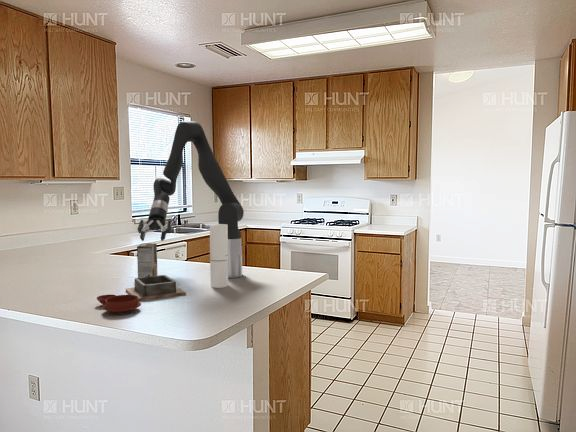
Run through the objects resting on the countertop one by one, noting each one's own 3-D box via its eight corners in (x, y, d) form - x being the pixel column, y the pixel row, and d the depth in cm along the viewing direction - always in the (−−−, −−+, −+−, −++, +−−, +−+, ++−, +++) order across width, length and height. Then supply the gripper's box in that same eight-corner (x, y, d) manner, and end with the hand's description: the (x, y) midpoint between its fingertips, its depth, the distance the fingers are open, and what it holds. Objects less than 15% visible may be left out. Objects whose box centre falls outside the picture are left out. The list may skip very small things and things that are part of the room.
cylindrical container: (231, 284, 178) (230, 224, 177) (223, 288, 172) (222, 225, 170) (215, 283, 181) (215, 223, 179) (207, 287, 174) (206, 225, 172)
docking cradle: (171, 285, 177) (171, 273, 177) (185, 294, 162) (185, 281, 161) (125, 290, 168) (125, 278, 167) (136, 301, 152) (135, 287, 152)
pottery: (113, 319, 132) (112, 305, 132) (85, 307, 146) (85, 294, 146) (148, 311, 141) (147, 298, 141) (118, 300, 155) (118, 288, 154)
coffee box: (142, 280, 187) (141, 243, 185) (158, 279, 187) (157, 243, 186) (137, 285, 178) (136, 246, 176) (153, 284, 178) (152, 246, 177)
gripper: (141, 206, 196) (133, 234, 186) (172, 206, 197) (166, 234, 186) (145, 217, 202) (137, 244, 191) (175, 217, 202) (170, 244, 192)
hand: (152, 239), depth 189 cm, fingers open, 8 cm apart
